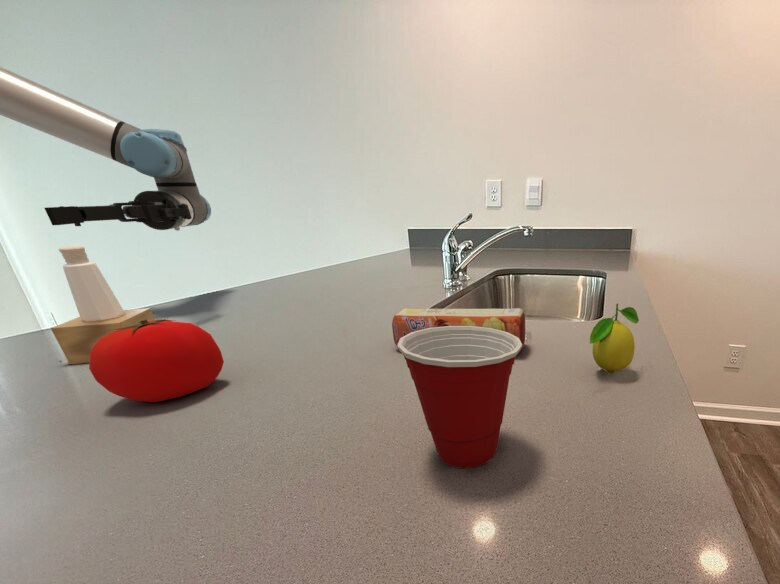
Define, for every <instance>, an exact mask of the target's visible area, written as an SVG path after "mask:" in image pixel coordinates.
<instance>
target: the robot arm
mask: <svg viewBox="0 0 780 584" xmlns="http://www.w3.org/2000/svg"><path fill="white" fill-rule="evenodd" d="M0 116H2V117H5V118H7V119H10V120H12V121H15V122H17V123H20V124H21V125H24V126H26V127H29V128H32V129H34V130H37V131H39V132H42V133H44V134H48V135H50V136H53V137H54V138H56V139H59V140H62V141H64V142H67V143H69V144H72V145H75V146H78V147H79V148H82V149H84V150H87V151H90V152H92V153H94V154H96V155H100V156H102V157H105V158H107V159H110V160H112V161H114V162H118V163H119V164H122V165H124V166H126V167H129V168H131V169H134V170H135V171H137V172H138V173H140V174H142V175H145V176H148V177H151V178H153V179H154V183H155V185H156V189H157V190H144V191H140V192H139V193H137V195H135V197H134V199H133V200H129V201H128V202H114V203H112V204H109V205H87V206H84V205H83V206H77V205H75V206H74V205H70V206H65V205H60V206H50V207H49V206H47V207H44V210H45V213H46V215H47V217H48V220H49V221H50V223H51V225H52V226H64V225H74V227H82V224H83V223H85V222H98V221H99V222H100V221H116V220H117V221H119V222H120V223H131V222H136V223H143V225H145V226H147V227H148V228H151V229H153V230H157V231H167V230H173V229H174V231H180V230H181V228H184V227H191V226H199V225H201V224H204V223H205V222H207V221H208V220H209V219H210V218H211V216H212V207H211V205H210V203H209V201H208V200H207V199H206V197H204V195H202V194H200V190H199V187H198V185H197V182H196V179H195V176H194V173H193V172H194V171H193V169H192V166H191V162H190V159H189V156H188V150H187V148H186V146H185V144H184V141H183V138H182V136H181V135H180V133H178V132H177V131H175V130H169V129H161V128H144V129H141V128H139V127H137V126H135V125H132V124H130V123H127V122H125V121H123V120H121V119H119V118H117V117H114V116H112V115H110V114H107V113H105V112H103V111H100V110H99V109H97V108H94V107H92V106H89V105H87V104H85V103H83V102H81V101H78V100H76V99H74V98H71V97H69V96H67V95H64V94H63V93H61V92H58V91H56V90H54V89H51V88H49V87H48V86H45V85H42V84H41V83H38V82H35V81H34V80H31V79H30V78H26V77H24V76H22V75H20V74H18V73H15V72H13V71H11V70H9V69H7V68H4V67H3V66H0Z"/></svg>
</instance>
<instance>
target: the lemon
mask: <svg viewBox="0 0 780 584" xmlns="http://www.w3.org/2000/svg"><path fill="white" fill-rule="evenodd" d="M619 312H620V313H621V315H622V316H623V317H625V318H626V319H627V320H628V321H630V322H631V323H633V324H638V323H639V322H640V319H639V316H638V312H637V311H636V309H635V308H634V307H631V306H626V307H624V308H622V309H619V303H616V305H615V313H614V315H613V316H612V317H605V318H602V319H600V320H599V321H598V322H597V323H596V324H595V325H594V326H593V328H592V331H591V333H590V336H589V344H590V345H591V344H592V356H593V360H594V362H595V364H596V365H597V366H598V367H599V368H600V369H601V370H604V371H606V372H607V373H608V375H612V374H614V373H616V372H621V371H623V370H625V369H627V368H628V367H629V366H630V365H631V363H632V361H633V359H634V356H635V348H636V347H635V339H634V335H633V333H632V331H631V329H630V328H629V327H628V326H627V325H626V324H624V323H623V322H620V321H619V320H618V315H619ZM614 318H615V319H614Z"/></svg>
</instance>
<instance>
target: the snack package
mask: <svg viewBox="0 0 780 584" xmlns="http://www.w3.org/2000/svg"><path fill="white" fill-rule="evenodd" d="M444 326H475V327H484V328H492V329H496V330H500V331H504V332H508V333H510V334H512V335H514V336H516V337H518V338H519V339H520V341H521V343H522V348H521V350H520V351H519V352H518V354H520V353H521V352H522V350H523V349H524V348H523V347H524V345H525V341H526V315H525V311H524V310H523V309H522V308H520V307H516V308H406V307H403V308H401V309H400V310H398V311H397V312H396V313H395V314H394V315H393V317H392V322H391V327H392V336H393V342H394V344H395V346H396V347H397V348H398V346H397V345H398V343H399V340H400V338H402V337H404V336H405V335H407V334H409V333H411V332H415V331H419V330H423V329H427V328H434V327H444Z"/></svg>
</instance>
